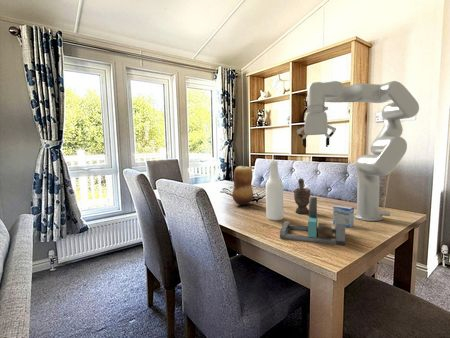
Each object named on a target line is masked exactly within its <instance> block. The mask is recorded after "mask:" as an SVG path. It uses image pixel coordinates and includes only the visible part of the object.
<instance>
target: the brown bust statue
mask: <svg viewBox="0 0 450 338" xmlns="http://www.w3.org/2000/svg"><path fill="white" fill-rule="evenodd" d="M304 186H305V180H304V179H303V178H299V179H298V188H294V189H293V193H294V194H293V197H294V202H295V204H296V205H297V208H296V210H295V213H297V214H300V215H307V214H308V215H309V208H308V206H309V197H311V189H310V188H307V187H304Z"/></svg>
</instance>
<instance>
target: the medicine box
mask: <svg viewBox="0 0 450 338" xmlns="http://www.w3.org/2000/svg"><path fill="white" fill-rule="evenodd" d="M332 207H333V208H332V209H333V211H332V225H334V226H335V214H343V218H344V222H345V228H352V227H354V224H355V223H354V222H355V217H354V213H355V207H352V206H347V205H346V206H345V205H338V204H336V205H334V206H332Z"/></svg>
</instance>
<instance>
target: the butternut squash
mask: <svg viewBox="0 0 450 338" xmlns="http://www.w3.org/2000/svg"><path fill="white" fill-rule="evenodd" d="M252 183H253V169H252V168H251V167H250V166H245V165H239V166H236V167H235V169H234V171H233V190H232V194H231V196H232V199H233V201H234V202H235V204H237V205H238V206H245V205H248V204H250V203H251V202H252V201H253V200H254V199H253V198H254V191H253V188H252Z"/></svg>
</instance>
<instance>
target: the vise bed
mask: <svg viewBox="0 0 450 338" xmlns="http://www.w3.org/2000/svg"><path fill="white" fill-rule="evenodd" d="M289 230H298V231H307V232H308V225H298V224H297V225H296V224H290V221H287V220H285V221H284V222H283V224H282V226H281V228H280V230H279V239H284V240H293V241H294V240H295V241H300V242H301V241H302V242H309V243H310V242H312V243H320V244H328V245H329V244H330V245H331V244H332V245H338V246H346V227H345V222H344V218H343V214H335V225H334V228H333V227H332V234H334V238H332V239H330V238H320V237H318V236H316V238H314V237H308V235H300V234H289V233H288V232H289ZM317 233H318V226H317Z"/></svg>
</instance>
